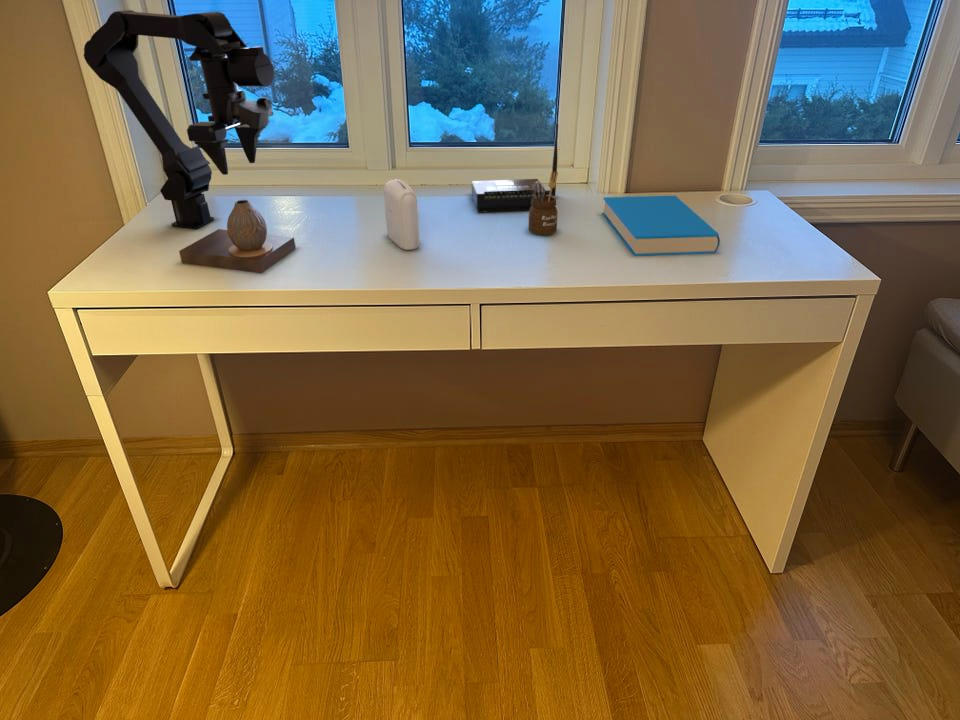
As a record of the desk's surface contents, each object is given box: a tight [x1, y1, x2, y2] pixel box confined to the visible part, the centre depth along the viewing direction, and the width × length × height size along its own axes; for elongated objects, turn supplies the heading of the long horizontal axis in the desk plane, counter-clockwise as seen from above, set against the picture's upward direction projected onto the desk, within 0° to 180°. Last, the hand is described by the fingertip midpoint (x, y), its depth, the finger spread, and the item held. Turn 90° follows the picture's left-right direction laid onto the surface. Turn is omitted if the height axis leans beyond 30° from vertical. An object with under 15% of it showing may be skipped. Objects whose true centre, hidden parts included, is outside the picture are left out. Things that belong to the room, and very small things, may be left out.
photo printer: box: [383, 178, 420, 251], centre depth 134 cm, size 10×4×12 cm, turn 26°
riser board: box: [178, 228, 297, 274], centre depth 130 cm, size 17×12×3 cm
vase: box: [226, 199, 268, 251], centre depth 125 cm, size 7×7×9 cm
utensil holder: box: [528, 170, 559, 237], centre depth 139 cm, size 6×6×12 cm
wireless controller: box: [471, 123, 559, 214], centre depth 155 cm, size 20×14×17 cm
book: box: [601, 195, 721, 257], centre depth 141 cm, size 17×4×25 cm
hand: (239, 168), depth 136 cm, fingers open, 9 cm apart
